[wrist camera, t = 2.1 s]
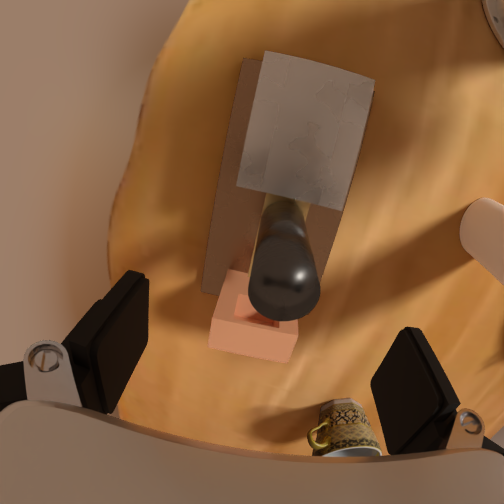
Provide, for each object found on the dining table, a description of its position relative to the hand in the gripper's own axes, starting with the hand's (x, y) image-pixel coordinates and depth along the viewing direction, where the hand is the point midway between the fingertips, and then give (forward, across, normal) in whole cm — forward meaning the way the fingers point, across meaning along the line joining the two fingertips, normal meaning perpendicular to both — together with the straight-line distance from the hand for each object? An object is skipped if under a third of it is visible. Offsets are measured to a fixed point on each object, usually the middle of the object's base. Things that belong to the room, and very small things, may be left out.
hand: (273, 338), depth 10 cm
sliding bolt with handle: (+14, -1, -4) cm, 15 cm away
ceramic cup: (+21, -17, +28) cm, 39 cm away
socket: (+19, -1, +9) cm, 21 cm away
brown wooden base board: (+20, -1, -1) cm, 20 cm away
